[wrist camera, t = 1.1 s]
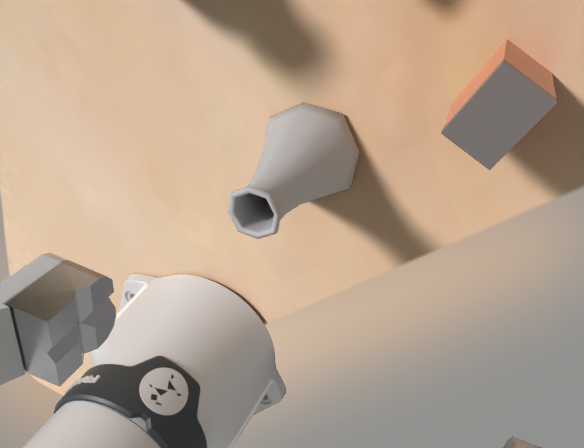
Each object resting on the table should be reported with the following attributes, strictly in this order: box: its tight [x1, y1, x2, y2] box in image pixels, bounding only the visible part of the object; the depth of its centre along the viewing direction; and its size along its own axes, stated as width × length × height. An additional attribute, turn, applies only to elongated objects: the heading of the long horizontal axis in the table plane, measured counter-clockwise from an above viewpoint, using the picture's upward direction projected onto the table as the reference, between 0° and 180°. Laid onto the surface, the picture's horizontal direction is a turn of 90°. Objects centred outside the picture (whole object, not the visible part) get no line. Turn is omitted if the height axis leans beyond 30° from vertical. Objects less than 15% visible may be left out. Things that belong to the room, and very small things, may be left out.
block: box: [441, 39, 557, 170], centre depth 28 cm, size 4×3×6 cm
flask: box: [228, 102, 360, 239], centre depth 33 cm, size 7×7×10 cm
